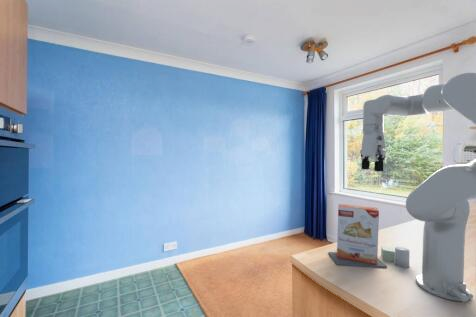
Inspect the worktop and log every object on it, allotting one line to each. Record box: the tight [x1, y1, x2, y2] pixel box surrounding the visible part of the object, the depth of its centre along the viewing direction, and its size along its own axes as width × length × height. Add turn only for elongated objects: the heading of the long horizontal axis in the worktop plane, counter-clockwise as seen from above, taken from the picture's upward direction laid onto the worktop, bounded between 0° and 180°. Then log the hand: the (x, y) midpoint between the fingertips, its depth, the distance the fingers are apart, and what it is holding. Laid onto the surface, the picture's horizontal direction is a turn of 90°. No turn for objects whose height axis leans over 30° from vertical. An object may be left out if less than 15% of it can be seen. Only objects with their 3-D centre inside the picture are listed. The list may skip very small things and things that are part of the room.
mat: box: [328, 251, 388, 269], centre depth 87 cm, size 10×18×1 cm, turn 84°
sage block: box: [380, 246, 395, 263], centre depth 89 cm, size 4×4×4 cm
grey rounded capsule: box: [394, 246, 410, 269], centre depth 84 cm, size 4×4×6 cm
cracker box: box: [336, 203, 380, 265], centre depth 87 cm, size 14×6×21 cm, turn 64°
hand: (371, 170), depth 93 cm, fingers open, 9 cm apart
